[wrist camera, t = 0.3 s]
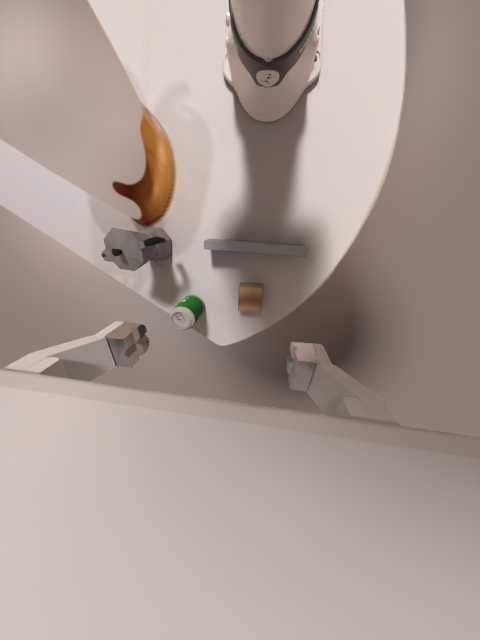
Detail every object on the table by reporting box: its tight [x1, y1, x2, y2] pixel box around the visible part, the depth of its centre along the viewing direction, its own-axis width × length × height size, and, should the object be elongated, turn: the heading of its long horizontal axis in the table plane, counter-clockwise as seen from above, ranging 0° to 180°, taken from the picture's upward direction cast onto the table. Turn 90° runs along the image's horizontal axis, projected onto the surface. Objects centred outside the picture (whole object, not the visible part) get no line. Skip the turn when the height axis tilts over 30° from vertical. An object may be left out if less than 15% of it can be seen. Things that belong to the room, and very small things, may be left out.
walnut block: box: [238, 283, 263, 313], centre depth 57 cm, size 8×7×4 cm
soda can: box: [170, 295, 204, 330], centre depth 57 cm, size 8×8×12 cm
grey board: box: [204, 239, 307, 257], centre depth 48 cm, size 2×26×6 cm, turn 87°
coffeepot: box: [102, 227, 172, 271], centre depth 46 cm, size 15×9×18 cm, turn 105°
